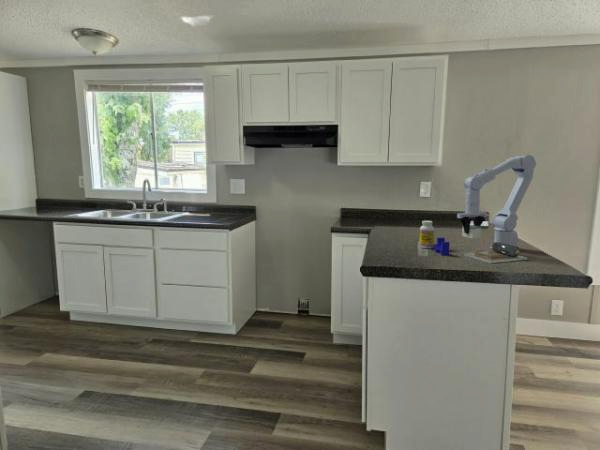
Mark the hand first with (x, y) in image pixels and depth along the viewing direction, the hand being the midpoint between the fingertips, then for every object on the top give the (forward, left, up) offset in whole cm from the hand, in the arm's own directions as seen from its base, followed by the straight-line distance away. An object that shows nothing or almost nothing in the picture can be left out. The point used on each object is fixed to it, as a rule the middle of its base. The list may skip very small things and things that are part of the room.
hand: (471, 233), depth 182 cm
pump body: (0, 0, -2) cm, 2 cm away
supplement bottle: (+14, -14, -9) cm, 22 cm away
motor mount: (0, +15, -8) cm, 17 cm away
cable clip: (+15, -2, -9) cm, 17 cm away
